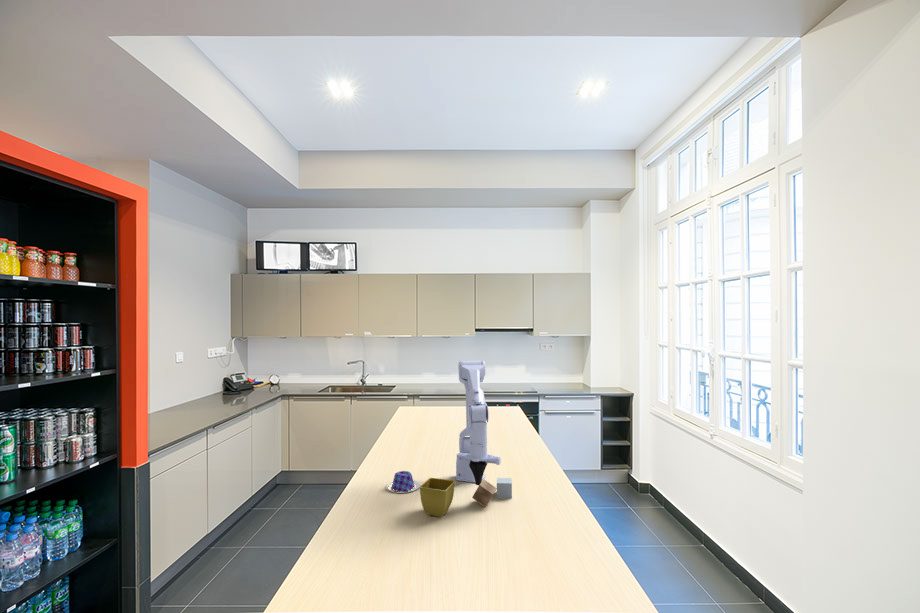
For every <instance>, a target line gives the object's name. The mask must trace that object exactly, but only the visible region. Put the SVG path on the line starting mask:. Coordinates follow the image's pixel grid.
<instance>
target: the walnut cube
mask: <svg viewBox="0 0 920 613" xmlns="http://www.w3.org/2000/svg"><path fill="white" fill-rule="evenodd" d="M496 492H497V486H494V485H493V484H491V483H490V482H489V481H487V480H486V479H483V480H482V482H481V484H480V485H477V488H476V490H475V492H474V493H473V495H472V499H473V500H475V501H476V502H477V503H478V504H480V505H481V506H482V507H484V508H486V507H487V506H488V504H489V503H490V501H491V500H492V498H493V496H494V494H495V493H496Z"/></svg>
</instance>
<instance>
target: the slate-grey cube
mask: <svg viewBox="0 0 920 613" xmlns="http://www.w3.org/2000/svg"><path fill="white" fill-rule="evenodd" d="M512 482H513V481H512V477H496V488H497V489H496V498H497V499H513V483H512Z"/></svg>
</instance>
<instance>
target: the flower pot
mask: <svg viewBox="0 0 920 613" xmlns="http://www.w3.org/2000/svg"><path fill="white" fill-rule="evenodd" d="M455 486H456V480H453V479H444V478H438V477H429V478H428V479H427V480H425V481H424V483H422V484H420V487H419V493H420V502H421V506H422V509H423V510H424V512H425V513H426V515H429V516H435V517H441V518H442V517H443V516H445V515H446V513H447V512H448V510H450V506H451V504H452V503H453V499H454V496H455V494H454V493H455Z"/></svg>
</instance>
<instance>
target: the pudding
mask: <svg viewBox="0 0 920 613" xmlns="http://www.w3.org/2000/svg"><path fill="white" fill-rule="evenodd" d="M392 483H393V484H392ZM391 484H392V487H391V489H394V491H396V490H397V491H400V492H396V493H400V494H401V493H404V494H405V492H403V491H408V492H407V493H410V492H414V491H416V490H418V489H420V486H421V484H420V483H419V482H418V481H416V480H414V479H413V475H412V473H411V472H410V471H408V470H402V471H401V470H400V471H398V472H396V473H394V476H393V480H392V481H391V482H389V483H388V484H387V485H386V486H385V488H386V490H387V491H389V492H392V493H395V492H394V491H391V490H389V489H388V487H389V485H391ZM414 484H415V485H416V488H415V487H414ZM413 487H414V488H413ZM411 489H413V490H411ZM410 490H411V491H410Z"/></svg>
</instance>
